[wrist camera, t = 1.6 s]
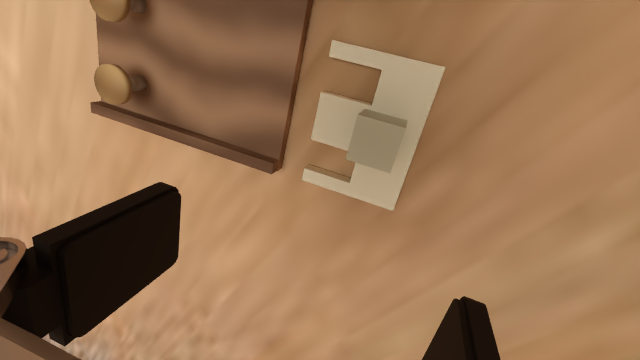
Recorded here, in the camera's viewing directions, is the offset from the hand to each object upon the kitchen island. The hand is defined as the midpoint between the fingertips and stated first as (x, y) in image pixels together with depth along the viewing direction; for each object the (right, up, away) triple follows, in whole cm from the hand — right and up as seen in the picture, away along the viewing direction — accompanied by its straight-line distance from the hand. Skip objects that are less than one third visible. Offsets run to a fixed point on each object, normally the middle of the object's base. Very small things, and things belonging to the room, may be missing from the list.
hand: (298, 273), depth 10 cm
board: (-13, +16, +24) cm, 31 cm away
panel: (+5, +8, +21) cm, 23 cm away
